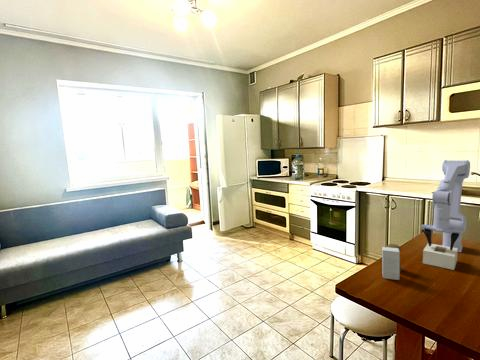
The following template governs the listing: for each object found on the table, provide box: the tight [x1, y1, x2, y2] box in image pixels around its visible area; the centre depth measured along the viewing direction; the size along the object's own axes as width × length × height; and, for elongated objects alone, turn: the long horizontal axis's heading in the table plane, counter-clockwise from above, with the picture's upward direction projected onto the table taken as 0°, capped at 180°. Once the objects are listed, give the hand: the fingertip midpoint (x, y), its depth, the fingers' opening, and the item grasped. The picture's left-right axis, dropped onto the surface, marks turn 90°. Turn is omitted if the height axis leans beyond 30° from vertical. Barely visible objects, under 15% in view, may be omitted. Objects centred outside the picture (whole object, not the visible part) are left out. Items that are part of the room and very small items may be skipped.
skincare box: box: [381, 246, 401, 281], centre depth 109 cm, size 6×4×12 cm
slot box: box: [422, 243, 458, 271], centre depth 119 cm, size 11×11×6 cm
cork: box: [386, 243, 402, 272], centre depth 115 cm, size 6×6×11 cm
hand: (440, 247), depth 119 cm, fingers open, 7 cm apart
